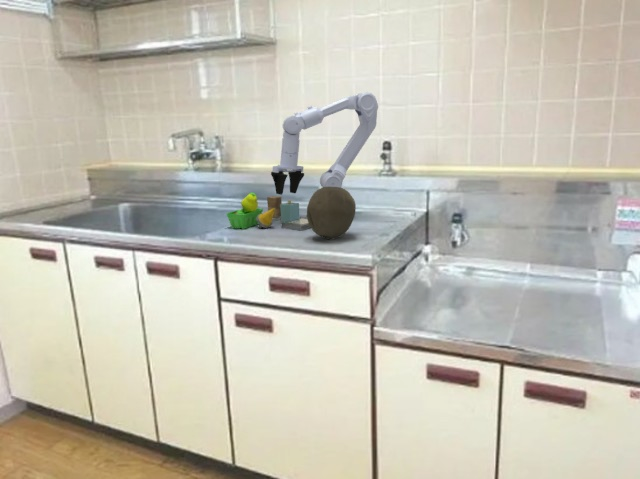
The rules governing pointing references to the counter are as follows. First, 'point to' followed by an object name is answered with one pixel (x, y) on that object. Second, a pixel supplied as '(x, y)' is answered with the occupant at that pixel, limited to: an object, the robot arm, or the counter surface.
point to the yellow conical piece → (265, 219)
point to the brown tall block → (274, 205)
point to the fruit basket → (245, 213)
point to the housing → (289, 211)
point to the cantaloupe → (331, 212)
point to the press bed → (297, 224)
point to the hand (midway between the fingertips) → (286, 193)
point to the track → (276, 218)
